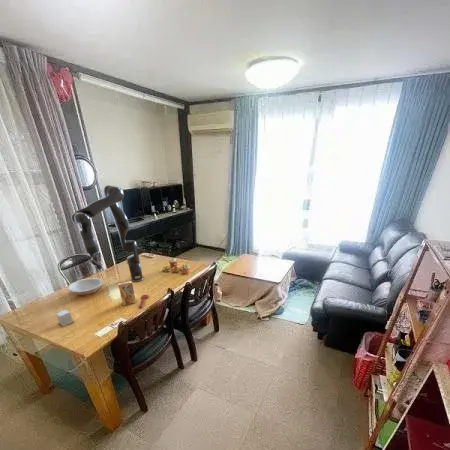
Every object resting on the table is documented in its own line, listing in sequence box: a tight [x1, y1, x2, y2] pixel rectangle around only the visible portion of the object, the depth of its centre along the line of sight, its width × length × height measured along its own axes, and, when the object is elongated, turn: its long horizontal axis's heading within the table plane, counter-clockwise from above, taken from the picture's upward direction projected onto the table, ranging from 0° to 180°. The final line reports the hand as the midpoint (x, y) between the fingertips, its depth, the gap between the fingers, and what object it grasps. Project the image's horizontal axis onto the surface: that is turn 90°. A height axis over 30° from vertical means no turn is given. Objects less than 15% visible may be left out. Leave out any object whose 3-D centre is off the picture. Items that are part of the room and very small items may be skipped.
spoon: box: [138, 294, 149, 309], centre depth 181 cm, size 17×5×1 cm, turn 4°
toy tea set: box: [162, 257, 190, 275], centre depth 229 cm, size 26×16×10 cm, turn 67°
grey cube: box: [55, 309, 74, 327], centre depth 158 cm, size 6×6×7 cm
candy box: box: [117, 280, 137, 306], centre depth 177 cm, size 9×4×15 cm, turn 117°
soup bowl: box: [67, 277, 104, 296], centre depth 194 cm, size 24×24×7 cm
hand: (99, 269), depth 172 cm, fingers closed
